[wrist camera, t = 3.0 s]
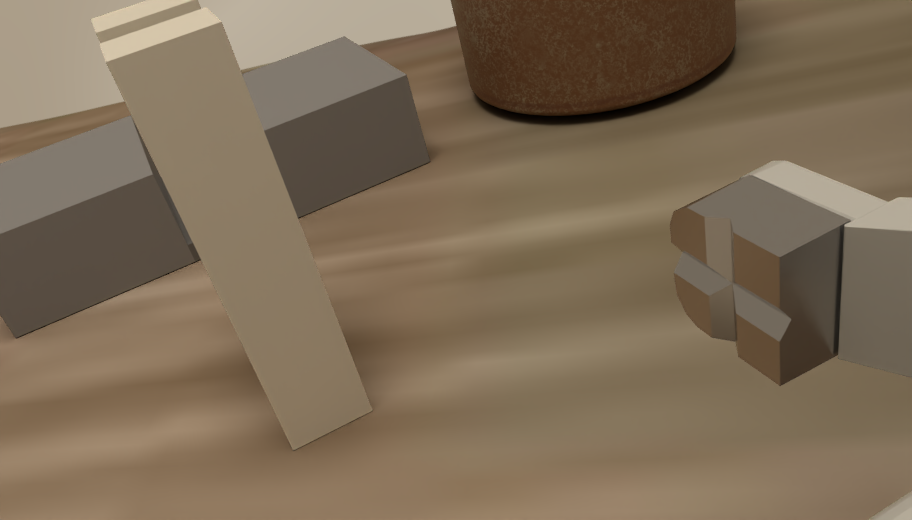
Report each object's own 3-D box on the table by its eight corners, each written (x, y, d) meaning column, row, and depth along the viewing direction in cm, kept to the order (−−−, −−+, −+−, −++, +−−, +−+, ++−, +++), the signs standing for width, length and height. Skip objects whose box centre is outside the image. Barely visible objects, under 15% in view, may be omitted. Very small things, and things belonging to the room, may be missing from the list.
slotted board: (367, 111, 51) (344, 36, 49) (430, 161, 43) (406, 74, 41) (18, 251, 46) (-30, 174, 43) (15, 337, 38) (-44, 250, 35)
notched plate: (322, 327, 33) (185, -13, 25) (372, 410, 28) (221, 21, 21) (253, 359, 32) (90, 18, 25) (293, 450, 27) (105, 62, 20)
